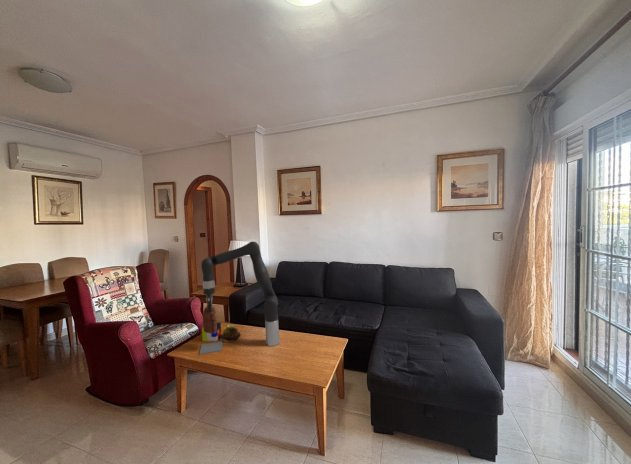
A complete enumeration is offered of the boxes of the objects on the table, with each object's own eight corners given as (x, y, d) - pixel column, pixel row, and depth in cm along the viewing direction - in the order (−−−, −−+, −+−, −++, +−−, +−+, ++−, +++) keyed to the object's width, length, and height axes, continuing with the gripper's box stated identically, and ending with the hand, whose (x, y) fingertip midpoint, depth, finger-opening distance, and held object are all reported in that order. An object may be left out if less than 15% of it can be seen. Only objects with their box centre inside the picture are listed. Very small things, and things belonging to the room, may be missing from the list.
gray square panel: (222, 342, 185) (222, 341, 184) (222, 350, 172) (222, 349, 172) (201, 346, 180) (201, 344, 180) (199, 355, 168) (199, 353, 168)
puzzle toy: (216, 341, 187) (215, 328, 187) (202, 341, 187) (201, 328, 187) (221, 335, 197) (220, 322, 197) (208, 335, 197) (207, 322, 197)
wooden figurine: (220, 331, 176) (219, 305, 175) (213, 334, 171) (211, 308, 170) (208, 328, 182) (207, 303, 181) (201, 331, 176) (199, 306, 175)
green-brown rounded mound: (218, 335, 198) (217, 322, 197) (239, 331, 204) (238, 319, 204) (219, 344, 182) (218, 331, 182) (242, 340, 188) (241, 327, 188)
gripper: (203, 285, 180) (204, 307, 180) (202, 290, 166) (203, 314, 167) (215, 283, 182) (216, 306, 183) (214, 288, 169) (215, 312, 170)
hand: (210, 310), depth 175 cm, fingers closed on wooden figurine, 7 cm apart
